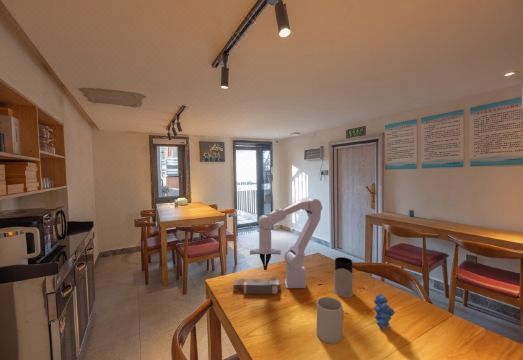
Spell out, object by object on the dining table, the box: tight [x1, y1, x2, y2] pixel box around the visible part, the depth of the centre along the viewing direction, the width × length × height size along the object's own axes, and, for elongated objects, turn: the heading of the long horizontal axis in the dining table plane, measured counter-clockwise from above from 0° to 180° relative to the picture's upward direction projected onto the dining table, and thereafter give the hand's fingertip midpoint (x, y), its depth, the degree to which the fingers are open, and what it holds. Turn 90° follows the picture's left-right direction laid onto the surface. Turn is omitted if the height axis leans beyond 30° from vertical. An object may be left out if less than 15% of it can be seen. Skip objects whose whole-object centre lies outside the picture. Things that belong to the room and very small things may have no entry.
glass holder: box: [332, 256, 354, 298], centre depth 110 cm, size 9×14×15 cm, turn 158°
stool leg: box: [243, 282, 279, 295], centre depth 107 cm, size 15×3×4 cm, turn 88°
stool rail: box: [232, 277, 281, 292], centre depth 110 cm, size 22×10×5 cm, turn 90°
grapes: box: [373, 293, 396, 329], centre depth 83 cm, size 12×7×12 cm, turn 169°
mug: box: [315, 296, 344, 345], centre depth 81 cm, size 12×8×11 cm
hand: (265, 269), depth 111 cm, fingers closed
